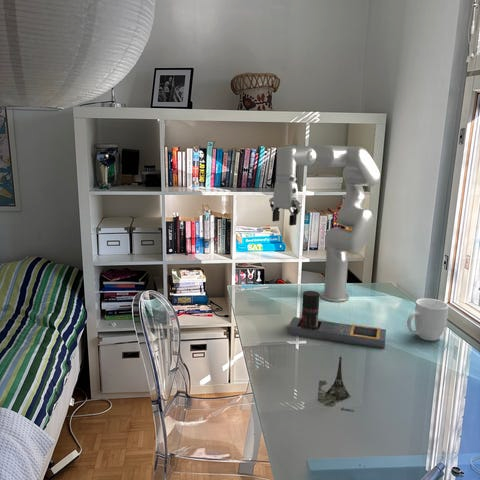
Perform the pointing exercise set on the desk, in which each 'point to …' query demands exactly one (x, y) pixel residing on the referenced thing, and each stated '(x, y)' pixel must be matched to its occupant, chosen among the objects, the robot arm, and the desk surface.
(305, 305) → the deodorant
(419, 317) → the mug
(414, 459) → the desk surface
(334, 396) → the eiffel tower figurine
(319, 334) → the holder
